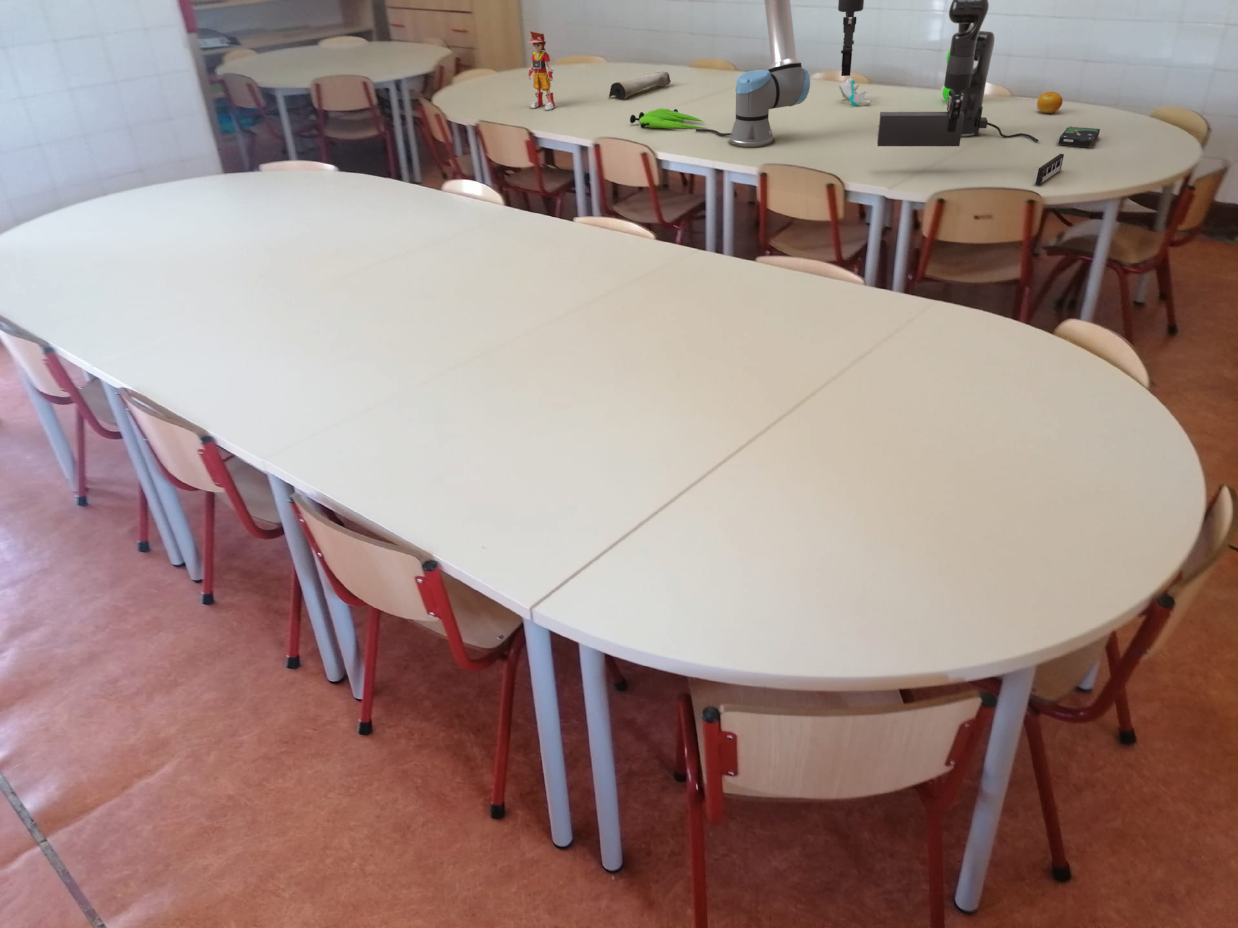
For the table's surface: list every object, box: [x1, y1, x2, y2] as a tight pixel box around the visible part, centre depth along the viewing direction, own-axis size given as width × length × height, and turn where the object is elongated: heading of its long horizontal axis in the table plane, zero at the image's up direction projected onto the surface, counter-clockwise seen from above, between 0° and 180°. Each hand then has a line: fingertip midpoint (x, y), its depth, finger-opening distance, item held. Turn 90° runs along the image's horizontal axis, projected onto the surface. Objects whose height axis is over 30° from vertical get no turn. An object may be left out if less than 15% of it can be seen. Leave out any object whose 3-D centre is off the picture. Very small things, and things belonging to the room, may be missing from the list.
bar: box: [876, 111, 964, 147], centre depth 280 cm, size 25×4×9 cm, turn 78°
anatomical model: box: [838, 76, 872, 107], centre depth 360 cm, size 15×10×10 cm
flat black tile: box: [1035, 153, 1065, 186], centre depth 273 cm, size 18×1×5 cm, turn 138°
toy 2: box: [629, 107, 705, 129], centre depth 347 cm, size 28×5×30 cm
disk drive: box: [1057, 126, 1101, 148], centre depth 303 cm, size 10×3×15 cm
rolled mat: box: [608, 71, 672, 101], centre depth 395 cm, size 30×9×10 cm
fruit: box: [1036, 91, 1064, 114], centre depth 334 cm, size 8×8×8 cm
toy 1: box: [527, 31, 556, 111], centre depth 374 cm, size 12×9×30 cm
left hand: (845, 71), depth 284 cm, fingers open, 13 cm apart
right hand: (950, 129), depth 278 cm, fingers closed on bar, 4 cm apart
